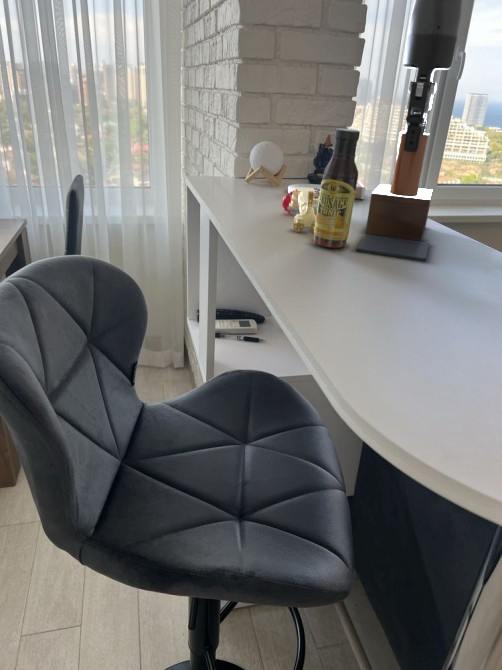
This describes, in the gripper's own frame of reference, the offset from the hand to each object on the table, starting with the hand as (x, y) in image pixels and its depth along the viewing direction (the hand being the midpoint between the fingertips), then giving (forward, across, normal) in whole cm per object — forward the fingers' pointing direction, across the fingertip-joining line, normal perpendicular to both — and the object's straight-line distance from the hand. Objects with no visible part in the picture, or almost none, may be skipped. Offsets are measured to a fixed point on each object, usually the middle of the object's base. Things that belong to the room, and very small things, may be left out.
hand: (411, 149), depth 86 cm
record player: (+17, +44, +23) cm, 53 cm away
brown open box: (+17, +14, +1) cm, 22 cm away
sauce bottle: (+17, -4, +11) cm, 21 cm away
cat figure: (+17, +14, +21) cm, 31 cm away
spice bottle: (+7, 0, 0) cm, 7 cm away
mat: (+17, 0, 0) cm, 17 cm away
